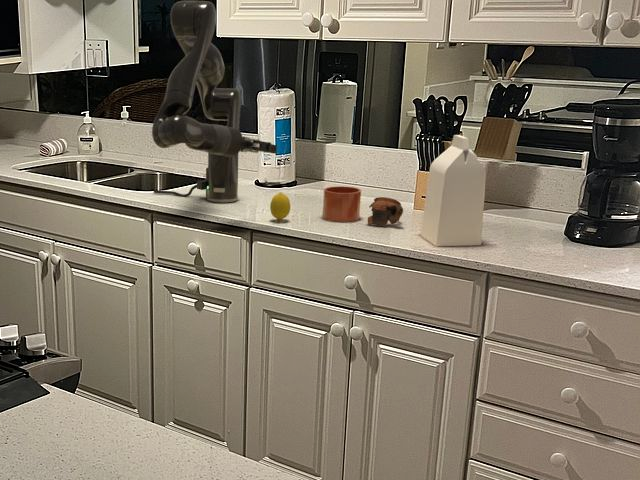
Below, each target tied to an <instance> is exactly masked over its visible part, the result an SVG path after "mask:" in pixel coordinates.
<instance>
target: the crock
mask: <svg viewBox="0 0 640 480" xmlns="http://www.w3.org/2000/svg"><path fill="white" fill-rule="evenodd" d="M361 199H362V189H361V188H358V187H354V186H343V185H342V186H341V185H339V186H329V187H325V188H324V189H323V199H322V215H321V216H322V219H323V220H325V221H328V222H335V223H351V222H356V221H358V220H360V215H361Z"/></svg>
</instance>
